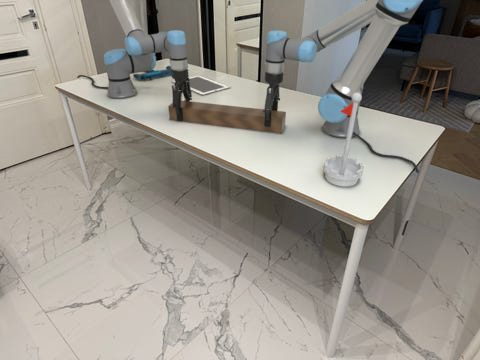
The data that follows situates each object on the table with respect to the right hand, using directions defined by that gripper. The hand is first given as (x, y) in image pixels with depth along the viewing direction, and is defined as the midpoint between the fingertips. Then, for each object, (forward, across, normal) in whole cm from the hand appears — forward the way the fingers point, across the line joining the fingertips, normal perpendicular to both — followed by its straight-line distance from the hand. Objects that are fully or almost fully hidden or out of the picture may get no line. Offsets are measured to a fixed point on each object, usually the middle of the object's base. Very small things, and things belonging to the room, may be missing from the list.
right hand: (270, 120), depth 150 cm
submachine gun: (+6, -63, -90) cm, 110 cm away
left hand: (+4, 0, -42) cm, 42 cm away
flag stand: (+3, +34, +32) cm, 47 cm away
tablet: (+5, -49, -54) cm, 73 cm away
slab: (+4, 0, -21) cm, 21 cm away
